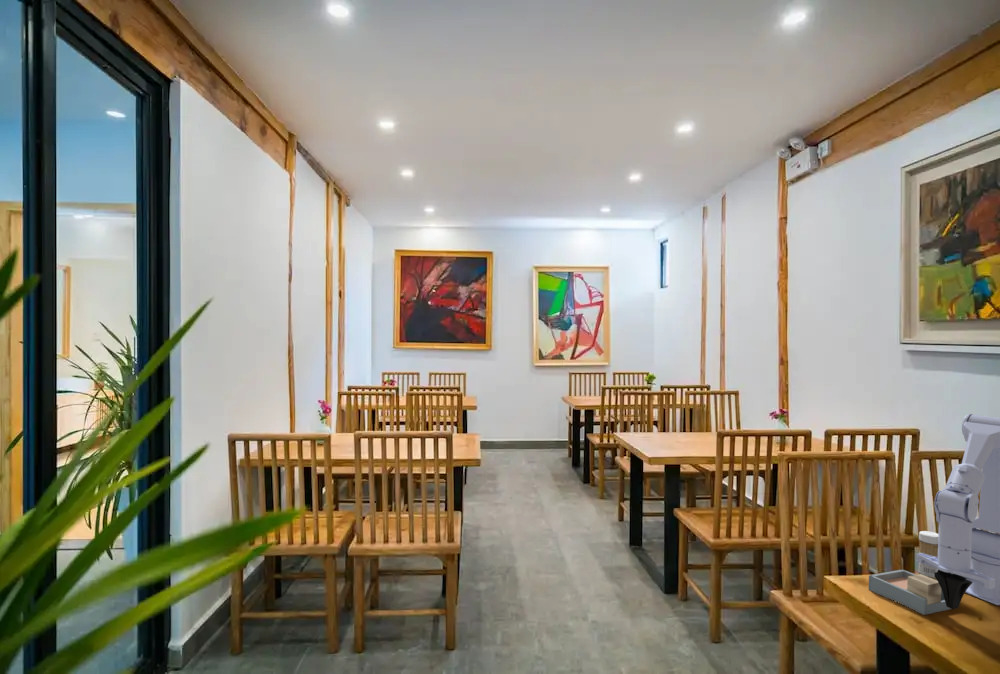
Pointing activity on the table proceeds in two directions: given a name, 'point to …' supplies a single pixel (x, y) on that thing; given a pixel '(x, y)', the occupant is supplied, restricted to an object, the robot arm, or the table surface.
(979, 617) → the table surface
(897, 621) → the table surface
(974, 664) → the table surface
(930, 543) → the sprinkles bottle
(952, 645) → the table surface
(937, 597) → the beech block
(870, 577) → the trap box
